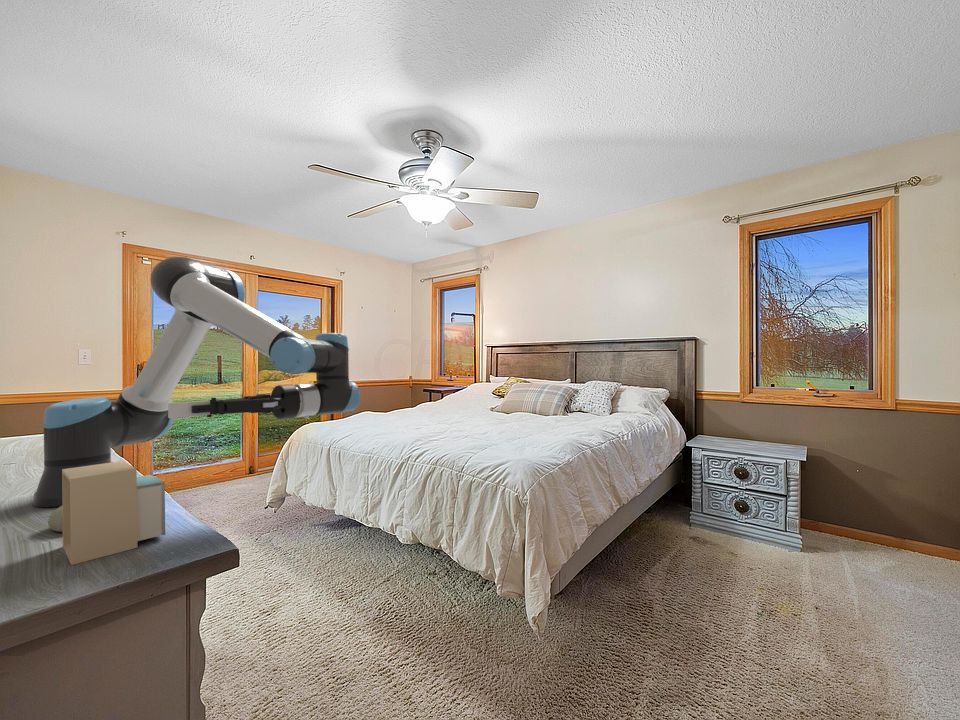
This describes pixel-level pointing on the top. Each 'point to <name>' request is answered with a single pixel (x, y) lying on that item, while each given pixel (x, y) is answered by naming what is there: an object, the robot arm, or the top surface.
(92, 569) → the top surface
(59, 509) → the sea urchin shell
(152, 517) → the drawer box
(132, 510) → the sleeve
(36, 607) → the top surface
